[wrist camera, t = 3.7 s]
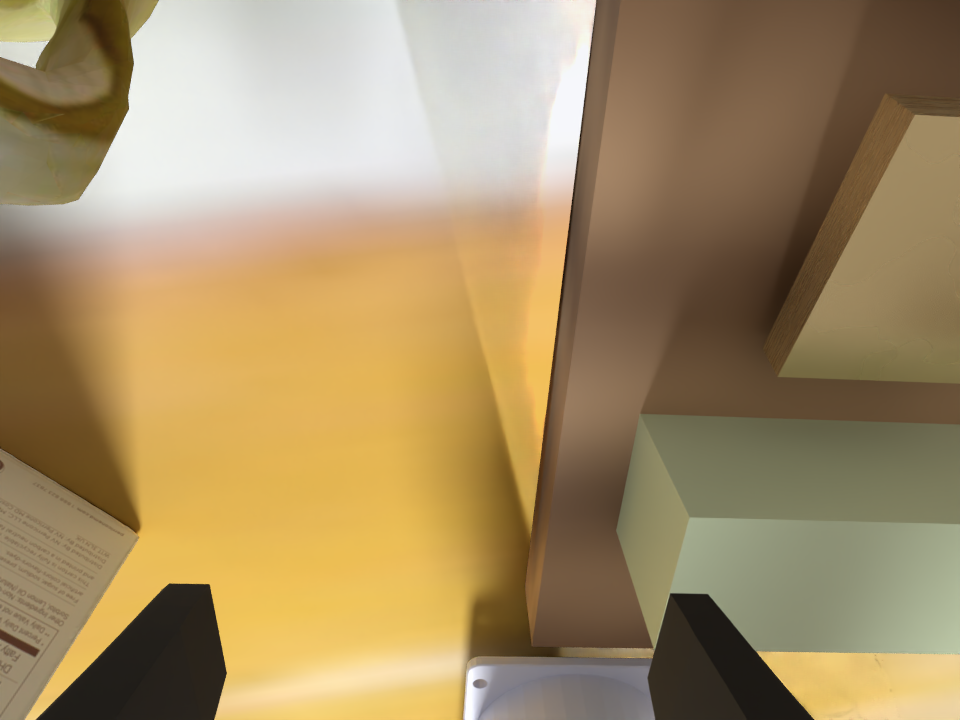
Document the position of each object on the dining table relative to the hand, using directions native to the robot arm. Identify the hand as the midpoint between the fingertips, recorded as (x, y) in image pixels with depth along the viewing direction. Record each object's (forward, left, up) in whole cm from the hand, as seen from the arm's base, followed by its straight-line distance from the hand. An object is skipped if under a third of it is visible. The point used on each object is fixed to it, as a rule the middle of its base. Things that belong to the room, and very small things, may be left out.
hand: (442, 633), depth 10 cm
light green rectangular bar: (-2, -11, -7) cm, 13 cm away
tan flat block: (+5, -10, -5) cm, 12 cm away
